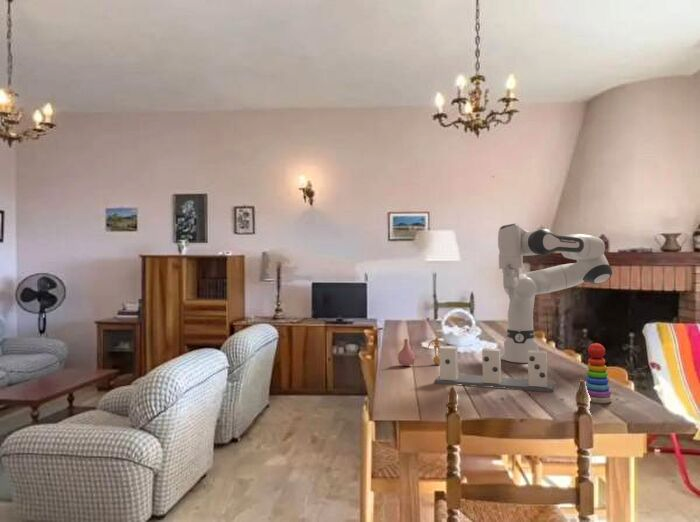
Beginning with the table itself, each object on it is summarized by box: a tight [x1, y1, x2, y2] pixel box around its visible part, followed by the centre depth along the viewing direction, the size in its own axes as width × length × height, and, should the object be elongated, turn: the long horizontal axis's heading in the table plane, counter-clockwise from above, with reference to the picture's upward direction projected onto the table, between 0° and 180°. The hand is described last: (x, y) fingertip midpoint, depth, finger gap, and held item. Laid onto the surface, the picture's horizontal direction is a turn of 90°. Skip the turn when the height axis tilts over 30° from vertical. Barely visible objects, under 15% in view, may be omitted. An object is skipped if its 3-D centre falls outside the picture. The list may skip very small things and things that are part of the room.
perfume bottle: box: [397, 338, 416, 367], centre depth 228 cm, size 8×8×12 cm
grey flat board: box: [434, 374, 555, 393], centre depth 192 cm, size 12×42×1 cm, turn 66°
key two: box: [481, 347, 502, 384], centre depth 189 cm, size 4×6×12 cm
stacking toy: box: [585, 342, 613, 404], centre depth 166 cm, size 8×8×19 cm
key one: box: [438, 346, 459, 381], centre depth 196 cm, size 4×6×12 cm
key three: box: [527, 350, 548, 387], centre depth 183 cm, size 4×6×12 cm
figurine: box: [427, 337, 447, 366], centre depth 231 cm, size 8×6×12 cm
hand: (511, 298), depth 205 cm, fingers closed
